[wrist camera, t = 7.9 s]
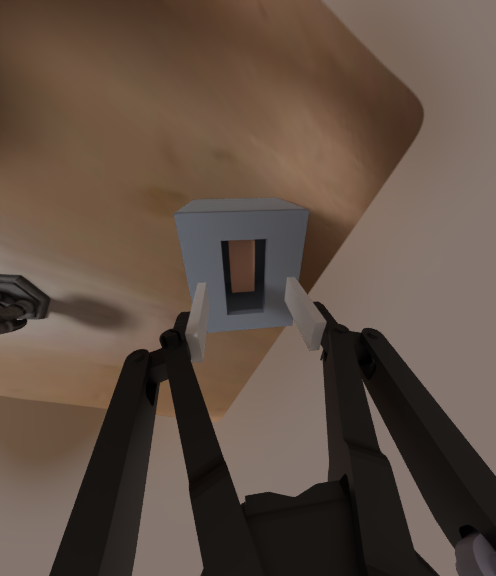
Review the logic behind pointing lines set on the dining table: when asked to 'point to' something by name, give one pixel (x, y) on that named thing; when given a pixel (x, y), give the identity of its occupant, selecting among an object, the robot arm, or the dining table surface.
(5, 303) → the figurine
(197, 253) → the coin box
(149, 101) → the dining table surface
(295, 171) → the dining table surface
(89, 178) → the dining table surface
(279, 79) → the dining table surface
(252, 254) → the peach rectangular block
